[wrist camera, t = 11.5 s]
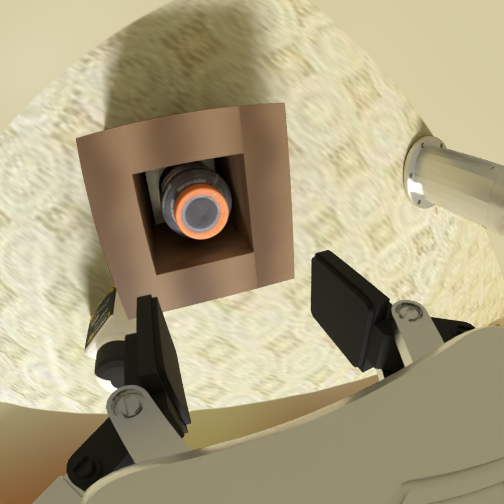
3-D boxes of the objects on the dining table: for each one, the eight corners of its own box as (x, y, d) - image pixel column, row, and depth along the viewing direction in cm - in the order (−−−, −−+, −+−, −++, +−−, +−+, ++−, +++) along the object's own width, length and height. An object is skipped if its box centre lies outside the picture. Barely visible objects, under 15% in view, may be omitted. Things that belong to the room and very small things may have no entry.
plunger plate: (209, 145, 31) (211, 146, 30) (218, 208, 34) (220, 210, 33) (143, 158, 29) (142, 159, 28) (155, 221, 32) (155, 224, 32)
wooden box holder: (239, 108, 30) (284, 102, 20) (252, 231, 37) (294, 278, 26) (103, 133, 26) (75, 138, 16) (132, 258, 33) (128, 319, 23)
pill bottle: (208, 212, 33) (235, 254, 23) (156, 209, 31) (159, 251, 21) (216, 160, 31) (248, 179, 21) (162, 154, 29) (166, 171, 19)
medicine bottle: (116, 281, 34) (108, 346, 23) (160, 309, 37) (170, 377, 27) (89, 318, 34) (78, 385, 24) (132, 342, 38) (134, 410, 28)
